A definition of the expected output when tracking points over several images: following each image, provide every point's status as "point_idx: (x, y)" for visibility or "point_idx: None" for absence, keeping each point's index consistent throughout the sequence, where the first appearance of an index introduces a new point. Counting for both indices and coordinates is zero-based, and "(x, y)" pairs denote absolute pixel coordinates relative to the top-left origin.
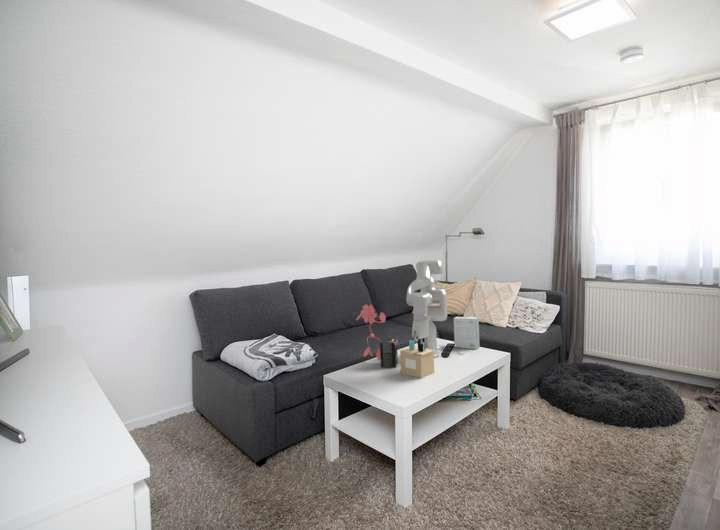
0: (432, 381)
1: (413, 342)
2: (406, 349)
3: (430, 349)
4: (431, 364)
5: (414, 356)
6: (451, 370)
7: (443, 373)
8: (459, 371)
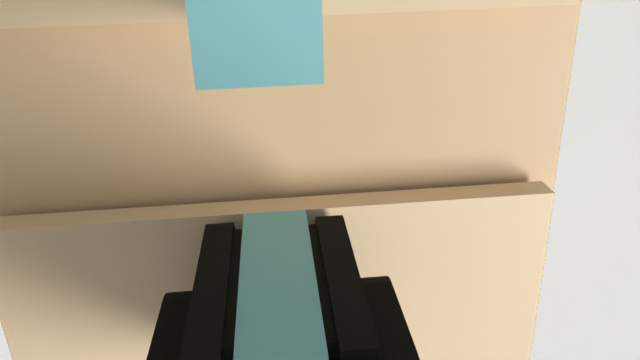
0: None
1: (218, 73)
2: None
3: (521, 337)
4: None
5: None
6: (581, 269)
7: None
8: (588, 339)
